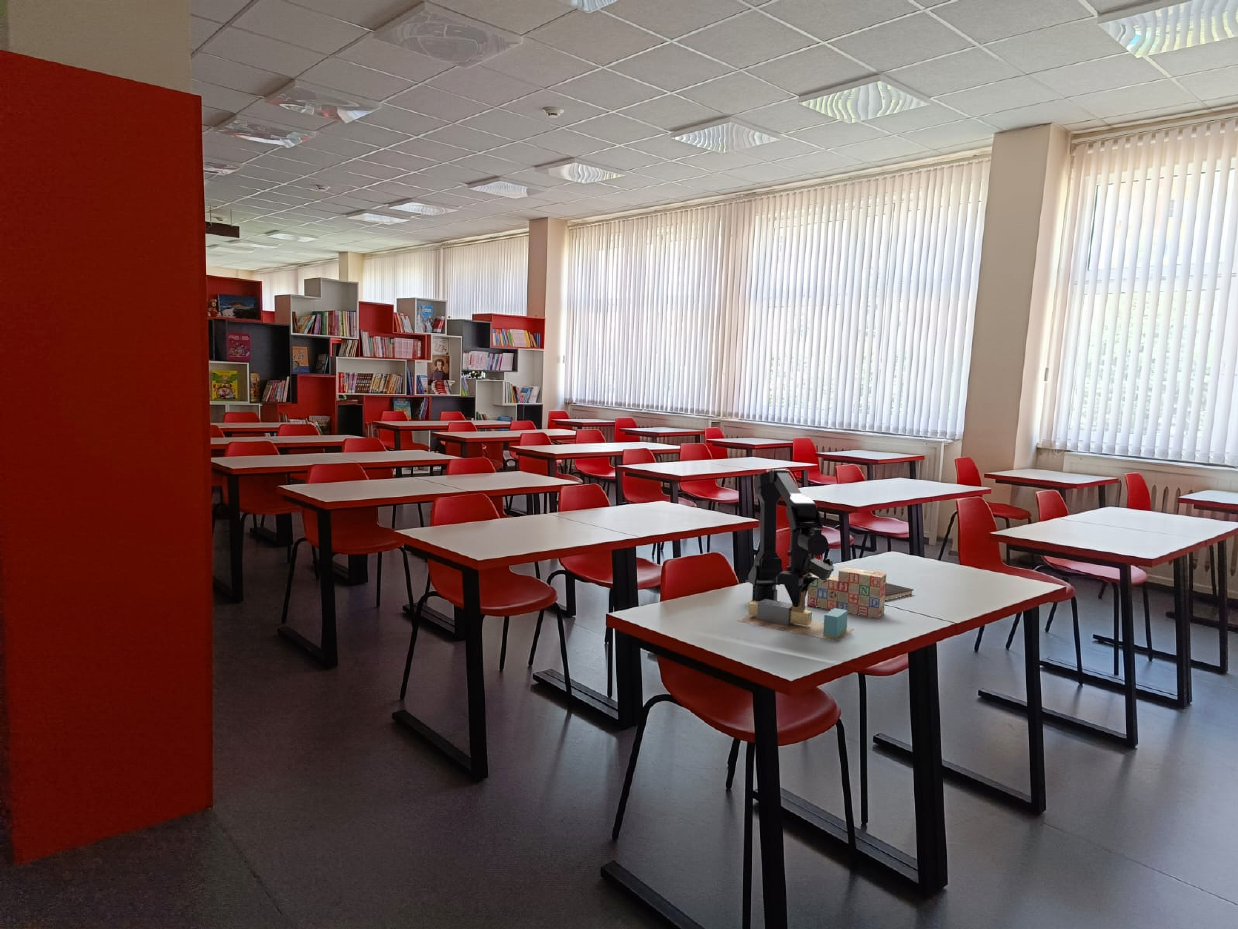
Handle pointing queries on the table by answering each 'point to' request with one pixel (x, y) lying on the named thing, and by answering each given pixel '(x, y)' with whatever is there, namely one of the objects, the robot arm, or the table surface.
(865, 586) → the stack of blocks
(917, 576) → the table surface
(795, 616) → the l-shaped wooden step
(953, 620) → the table surface
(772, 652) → the table surface
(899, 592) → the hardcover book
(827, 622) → the socket block
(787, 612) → the sleeve
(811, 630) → the base board
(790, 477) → the robot arm
